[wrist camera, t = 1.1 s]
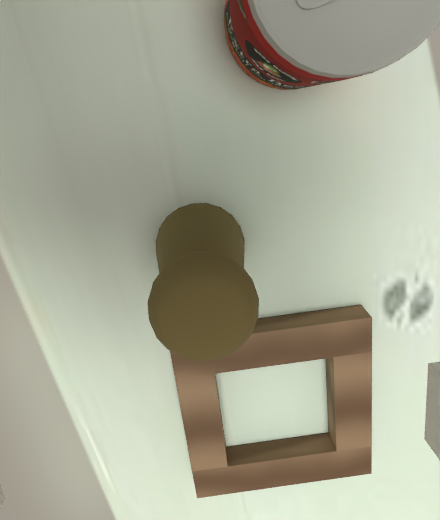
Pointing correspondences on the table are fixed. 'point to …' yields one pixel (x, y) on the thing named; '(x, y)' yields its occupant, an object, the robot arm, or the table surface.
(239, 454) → the socket plate
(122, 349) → the table surface
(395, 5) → the canned food
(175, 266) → the cork
